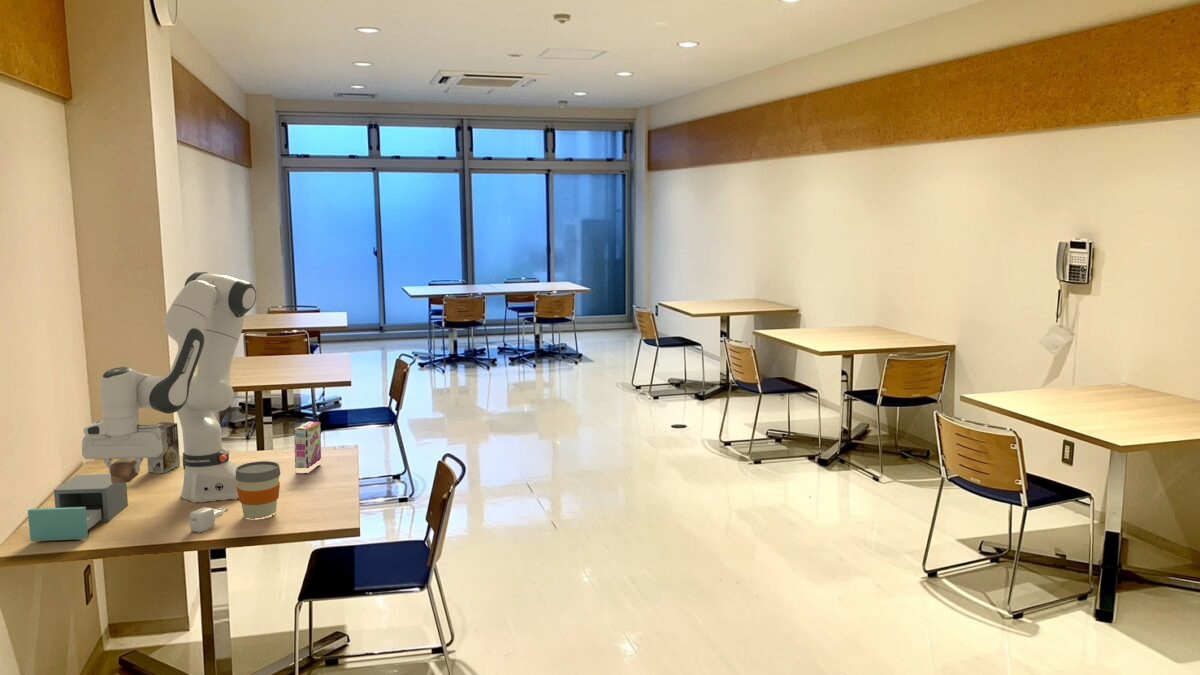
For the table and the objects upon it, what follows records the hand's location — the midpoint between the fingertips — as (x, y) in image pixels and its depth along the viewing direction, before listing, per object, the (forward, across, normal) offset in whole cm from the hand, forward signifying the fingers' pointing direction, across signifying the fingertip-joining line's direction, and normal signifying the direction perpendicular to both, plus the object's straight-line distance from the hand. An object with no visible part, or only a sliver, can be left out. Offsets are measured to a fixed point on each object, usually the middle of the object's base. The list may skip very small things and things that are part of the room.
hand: (124, 472), depth 232 cm
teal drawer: (+16, +15, +1) cm, 22 cm away
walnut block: (+2, 0, 0) cm, 2 cm away
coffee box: (+17, +10, -58) cm, 61 cm away
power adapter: (+17, -22, 0) cm, 28 cm away
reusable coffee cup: (+17, -34, -8) cm, 39 cm away
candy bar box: (+18, -40, -53) cm, 68 cm away
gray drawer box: (+17, +15, -14) cm, 27 cm away
